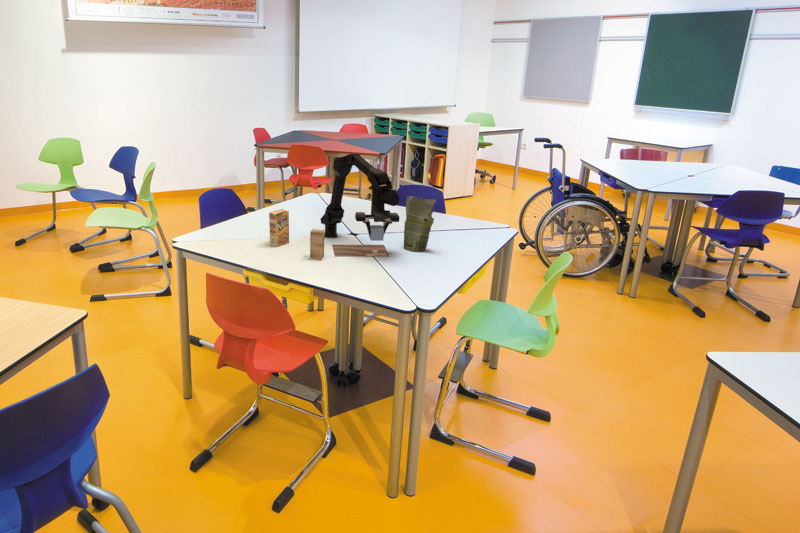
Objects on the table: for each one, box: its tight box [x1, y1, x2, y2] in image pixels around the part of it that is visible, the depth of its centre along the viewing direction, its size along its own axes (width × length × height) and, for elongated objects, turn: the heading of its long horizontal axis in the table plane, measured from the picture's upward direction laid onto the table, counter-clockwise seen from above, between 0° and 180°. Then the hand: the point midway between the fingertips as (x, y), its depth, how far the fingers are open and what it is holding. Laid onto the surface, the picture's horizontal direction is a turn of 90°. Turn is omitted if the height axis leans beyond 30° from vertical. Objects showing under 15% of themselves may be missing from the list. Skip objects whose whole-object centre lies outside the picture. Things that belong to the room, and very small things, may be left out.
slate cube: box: [368, 224, 385, 242], centre depth 246 cm, size 6×6×6 cm
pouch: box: [403, 195, 437, 253], centre depth 255 cm, size 11×12×25 cm
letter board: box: [331, 244, 391, 258], centre depth 251 cm, size 17×24×1 cm
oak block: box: [309, 228, 325, 261], centre depth 238 cm, size 5×5×12 cm
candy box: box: [268, 208, 290, 248], centre depth 252 cm, size 9×4×15 cm, turn 150°
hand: (376, 235), depth 247 cm, fingers closed on slate cube, 5 cm apart
